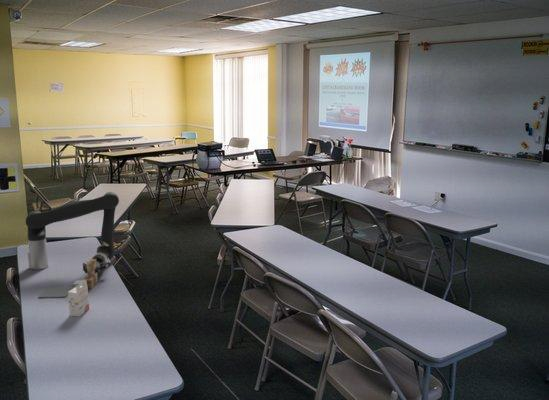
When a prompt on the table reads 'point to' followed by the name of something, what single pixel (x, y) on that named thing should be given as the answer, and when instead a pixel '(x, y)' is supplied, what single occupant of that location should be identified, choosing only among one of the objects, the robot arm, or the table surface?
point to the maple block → (92, 268)
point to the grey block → (77, 283)
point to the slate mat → (56, 292)
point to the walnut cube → (89, 282)
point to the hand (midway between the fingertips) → (90, 271)
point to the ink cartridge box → (78, 299)
